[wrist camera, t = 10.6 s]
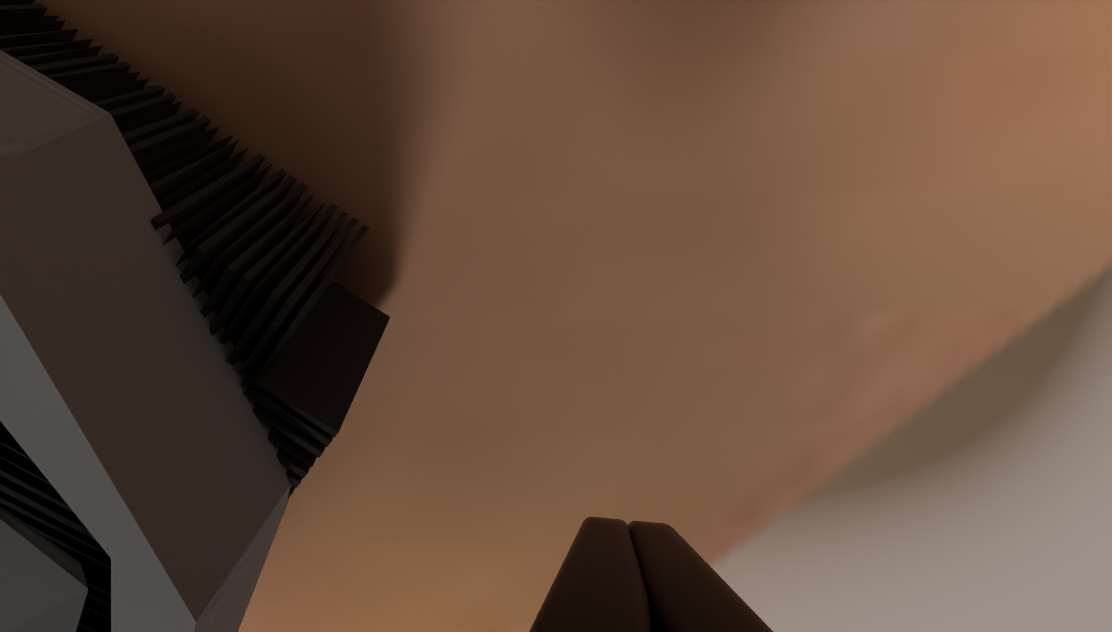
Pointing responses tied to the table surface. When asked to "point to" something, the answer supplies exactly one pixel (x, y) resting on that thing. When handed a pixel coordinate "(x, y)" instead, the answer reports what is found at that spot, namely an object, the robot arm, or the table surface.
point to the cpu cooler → (151, 347)
